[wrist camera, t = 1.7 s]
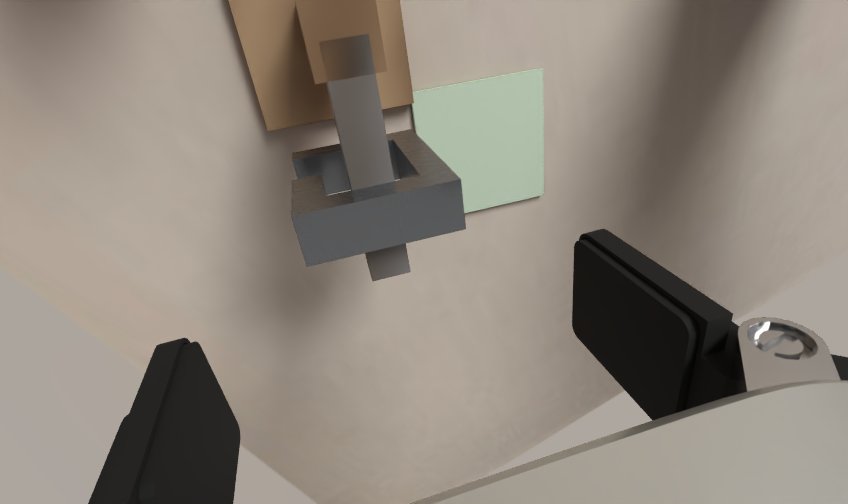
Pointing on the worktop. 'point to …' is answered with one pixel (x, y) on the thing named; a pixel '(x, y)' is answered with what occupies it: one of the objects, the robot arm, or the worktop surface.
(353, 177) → the stand
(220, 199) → the worktop surface
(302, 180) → the link
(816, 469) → the robot arm
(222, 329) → the worktop surface
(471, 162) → the mat
